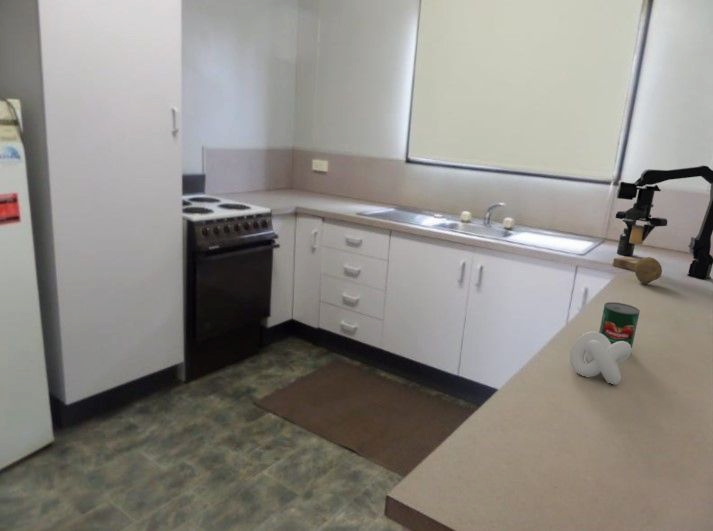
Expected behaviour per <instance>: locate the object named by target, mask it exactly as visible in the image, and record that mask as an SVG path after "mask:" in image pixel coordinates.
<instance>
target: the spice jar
mask: <svg viewBox="0 0 713 531" xmlns="http://www.w3.org/2000/svg"><path fill="white" fill-rule="evenodd" d="M643 232H644V224H643V225H642V224H636V225H632V230H631V235H630V240H629V243H632V244H635V245H638V246H639V245H643V243H644V241H642V236H643Z"/></svg>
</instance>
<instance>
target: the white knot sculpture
mask: <svg viewBox="0 0 713 531" xmlns="http://www.w3.org/2000/svg"><path fill="white" fill-rule="evenodd" d="M632 350H633V347H632V348H631V345H630V344H629V343H628V342H625V341H619V342H615V343H613V344H612V345H611V343H610V341H609V340H608V338H607V337H606V336H604V335H603V334H601V333H599V331H594V330H593V331H587V332H584V333H583V334H581V335H580V336H578V337H577V338H576V340H575V341H574V343H573V345H572V347H571V349H570V353H569V363H570V366H571V368H572V370H573V371H574V372H575V373H576V374H577V373H578V374H577V375H579V374H581V375H583V376H589V377H588V378H593V377H595V376H598V375H600V374H602V376H603V378H604V380H605V381H606V383H608V384H609V383H611V384H616V385H618V384H619V383H620V382H621V379H622V377H621V373H620V368H619V366H620V365H622V364H623V363H624V362H625V361H627V360H628V358H629V357H630V355H631V354H632ZM583 376H582V377H583ZM611 384H610V385H611Z"/></svg>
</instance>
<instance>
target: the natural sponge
mask: <svg viewBox="0 0 713 531" xmlns="http://www.w3.org/2000/svg"><path fill="white" fill-rule="evenodd" d="M634 272H635V273H634V274H635V276H636V278H637V280H638V281H639V283H641V284H643V285H648V284H650V283H651V282H654V281H655V280H658V279H659V278H660V277H661V276H662V274H663V269H662V265H661V263H660V262H659V261H658V260H657V259H655V258H654V257H651V256H649V257H642V258H639V259H638V261H637V262H636V264H635V271H634Z"/></svg>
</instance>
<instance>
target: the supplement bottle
mask: <svg viewBox="0 0 713 531" xmlns="http://www.w3.org/2000/svg"><path fill="white" fill-rule="evenodd" d="M629 240H630V238H629V233H628V228H627V227H625V228H623V233H622V234H620V236H619V240H618V245H617V251H616V254H618V255H620V256H623V257H632V256H633V254H634V251H635V249H636V248H635V246H636V244H632V243H629Z"/></svg>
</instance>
